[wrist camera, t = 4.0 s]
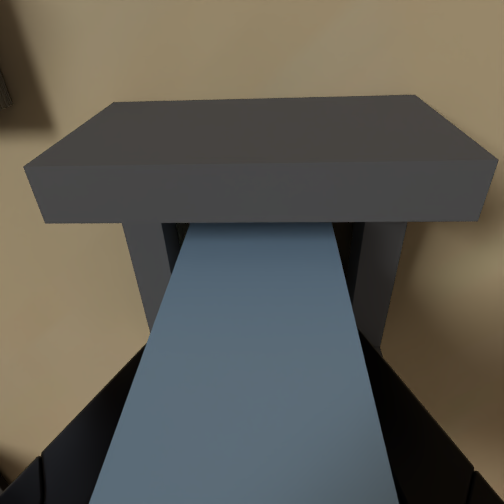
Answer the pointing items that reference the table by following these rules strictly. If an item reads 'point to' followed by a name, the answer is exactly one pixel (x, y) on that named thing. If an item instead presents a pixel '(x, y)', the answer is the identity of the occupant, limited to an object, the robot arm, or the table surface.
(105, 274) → the table surface
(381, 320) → the holster
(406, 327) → the table surface
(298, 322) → the plug
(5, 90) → the port
